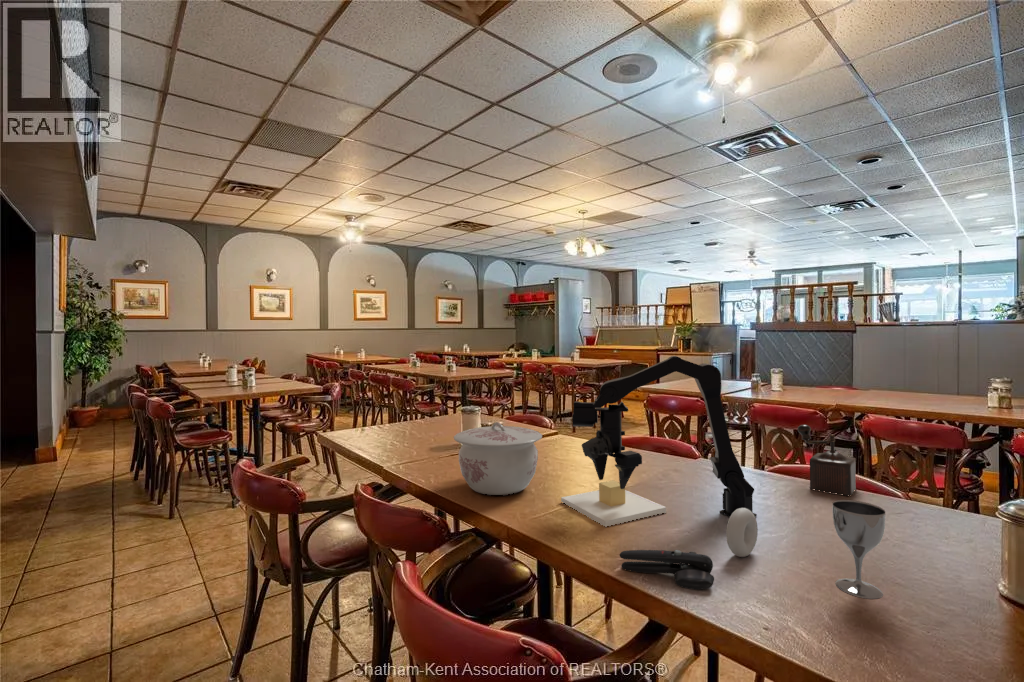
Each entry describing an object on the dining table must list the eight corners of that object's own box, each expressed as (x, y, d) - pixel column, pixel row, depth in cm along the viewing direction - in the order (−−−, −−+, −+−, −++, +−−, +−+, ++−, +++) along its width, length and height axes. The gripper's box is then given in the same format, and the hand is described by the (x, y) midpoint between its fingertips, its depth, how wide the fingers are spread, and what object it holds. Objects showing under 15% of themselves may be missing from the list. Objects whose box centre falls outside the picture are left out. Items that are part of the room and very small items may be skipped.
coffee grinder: (857, 488, 146) (857, 428, 146) (850, 497, 138) (850, 434, 138) (799, 478, 157) (798, 422, 156) (789, 486, 149) (789, 427, 148)
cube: (625, 503, 131) (625, 484, 131) (610, 506, 129) (610, 487, 129) (613, 497, 135) (613, 480, 135) (599, 500, 133) (599, 482, 133)
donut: (744, 545, 107) (744, 501, 107) (760, 551, 105) (760, 505, 105) (723, 560, 101) (722, 512, 101) (740, 565, 98) (739, 516, 98)
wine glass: (863, 577, 93) (862, 499, 93) (897, 599, 85) (897, 514, 85) (822, 578, 93) (822, 500, 93) (853, 600, 85) (853, 515, 85)
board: (666, 512, 128) (666, 507, 128) (605, 527, 119) (605, 521, 119) (617, 491, 146) (617, 486, 146) (561, 502, 137) (561, 497, 137)
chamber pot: (528, 508, 132) (527, 433, 132) (438, 499, 141) (437, 428, 141) (553, 479, 159) (552, 416, 158) (476, 472, 168) (475, 413, 167)
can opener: (715, 578, 94) (715, 549, 94) (713, 596, 87) (712, 565, 87) (624, 560, 102) (623, 534, 101) (615, 575, 95) (615, 547, 95)
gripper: (567, 424, 137) (567, 479, 137) (608, 436, 120) (609, 499, 120) (599, 421, 142) (599, 474, 142) (643, 431, 125) (643, 492, 125)
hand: (611, 484), depth 132 cm, fingers open, 9 cm apart
